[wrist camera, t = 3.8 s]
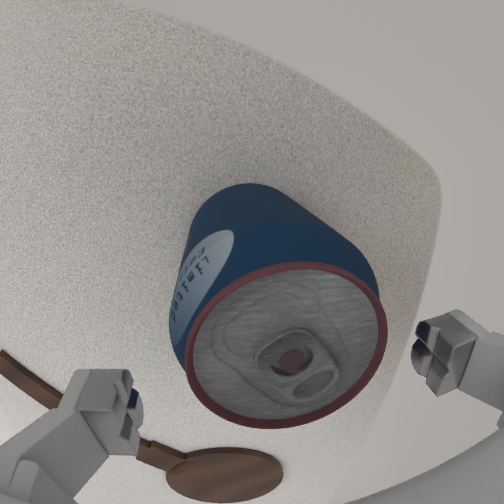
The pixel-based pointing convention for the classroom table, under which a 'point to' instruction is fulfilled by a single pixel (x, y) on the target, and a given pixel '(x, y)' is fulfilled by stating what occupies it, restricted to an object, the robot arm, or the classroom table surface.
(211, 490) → the serving spoon
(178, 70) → the classroom table surface
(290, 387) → the soda can
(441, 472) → the robot arm
